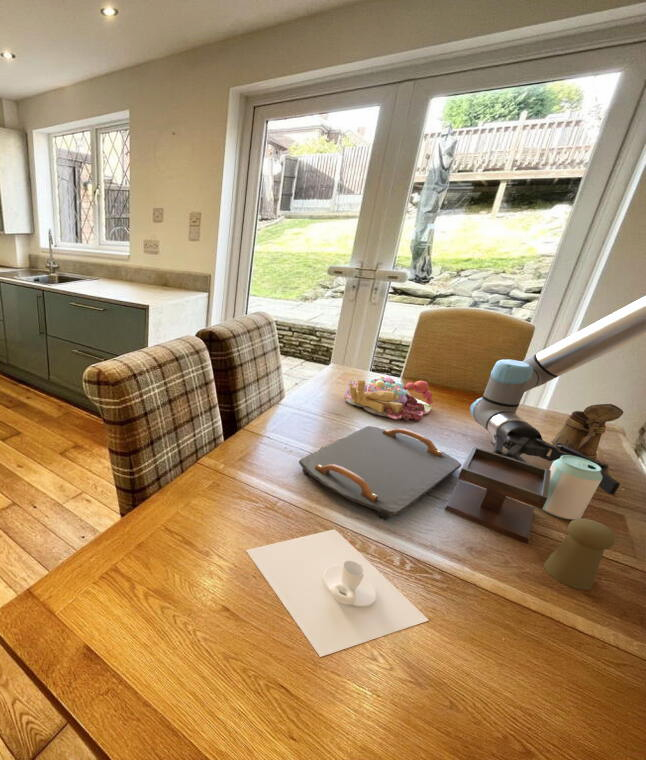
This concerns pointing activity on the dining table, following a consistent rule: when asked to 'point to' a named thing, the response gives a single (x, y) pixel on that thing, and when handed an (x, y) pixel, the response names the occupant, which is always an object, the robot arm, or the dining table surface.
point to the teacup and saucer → (333, 591)
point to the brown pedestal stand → (499, 492)
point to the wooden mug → (586, 428)
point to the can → (571, 486)
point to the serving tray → (381, 468)
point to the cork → (580, 553)
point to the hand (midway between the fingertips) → (572, 482)
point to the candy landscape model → (390, 398)
